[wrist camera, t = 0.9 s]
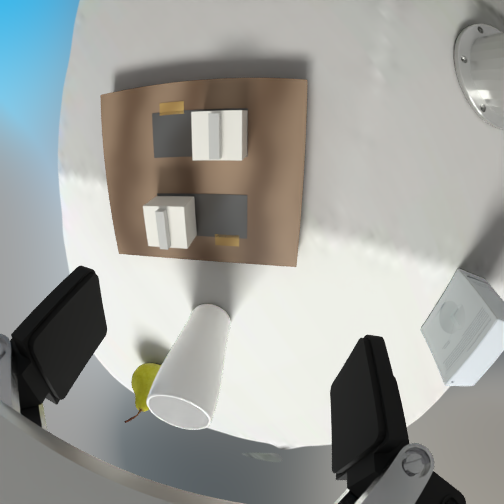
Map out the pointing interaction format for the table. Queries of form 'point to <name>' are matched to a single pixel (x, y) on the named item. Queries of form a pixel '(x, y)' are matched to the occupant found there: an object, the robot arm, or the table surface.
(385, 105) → the table surface
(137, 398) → the fruit
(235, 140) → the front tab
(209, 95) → the switch board
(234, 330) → the table surface
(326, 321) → the table surface
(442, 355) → the skincare box
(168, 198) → the tab
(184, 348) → the drinking glass
